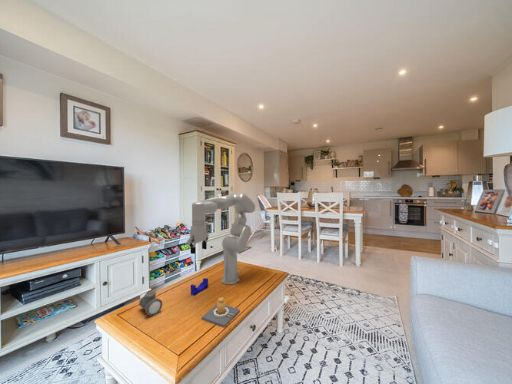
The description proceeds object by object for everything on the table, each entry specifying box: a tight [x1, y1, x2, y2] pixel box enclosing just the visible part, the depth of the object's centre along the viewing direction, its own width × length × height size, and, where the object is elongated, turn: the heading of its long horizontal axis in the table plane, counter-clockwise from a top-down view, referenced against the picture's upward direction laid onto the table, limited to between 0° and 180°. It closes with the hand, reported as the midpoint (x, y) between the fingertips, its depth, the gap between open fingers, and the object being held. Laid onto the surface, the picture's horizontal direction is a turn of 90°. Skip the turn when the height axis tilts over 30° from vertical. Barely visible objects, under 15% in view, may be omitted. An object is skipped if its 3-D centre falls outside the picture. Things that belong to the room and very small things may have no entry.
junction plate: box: [201, 304, 240, 328], centre depth 104 cm, size 14×14×2 cm
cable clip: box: [190, 277, 209, 297], centre depth 130 cm, size 12×4×6 cm, turn 149°
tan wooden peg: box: [216, 296, 226, 315], centre depth 104 cm, size 4×4×8 cm
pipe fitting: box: [138, 290, 163, 317], centre depth 108 cm, size 12×8×10 cm
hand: (198, 251), depth 121 cm, fingers open, 9 cm apart
